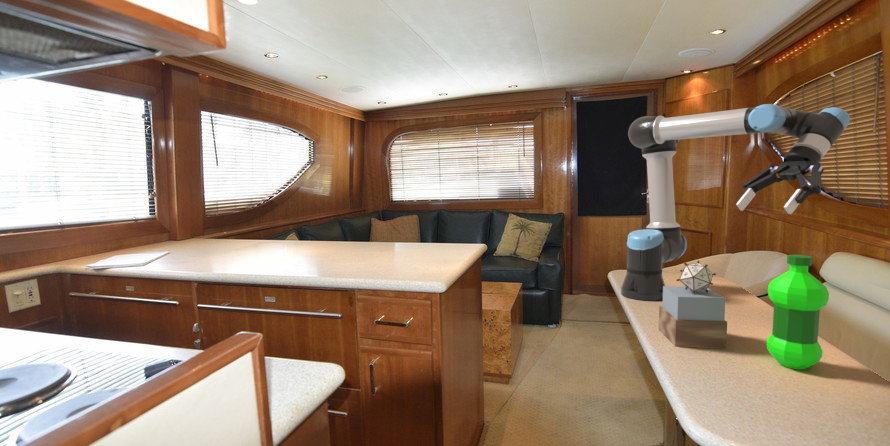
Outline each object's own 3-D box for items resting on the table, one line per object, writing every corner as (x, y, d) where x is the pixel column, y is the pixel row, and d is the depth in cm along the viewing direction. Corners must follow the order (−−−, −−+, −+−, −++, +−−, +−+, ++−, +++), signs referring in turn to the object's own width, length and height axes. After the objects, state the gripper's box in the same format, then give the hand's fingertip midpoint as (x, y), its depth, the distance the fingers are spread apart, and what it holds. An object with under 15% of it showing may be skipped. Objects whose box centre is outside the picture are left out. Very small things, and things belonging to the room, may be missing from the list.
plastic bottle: (829, 366, 97) (837, 256, 94) (810, 379, 91) (819, 262, 88) (776, 352, 105) (782, 250, 102) (756, 362, 99) (762, 255, 97)
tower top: (662, 307, 120) (663, 286, 120) (705, 308, 119) (705, 286, 118) (677, 319, 109) (678, 296, 109) (724, 321, 108) (725, 297, 107)
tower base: (658, 330, 122) (659, 306, 121) (704, 331, 120) (705, 307, 119) (675, 347, 110) (676, 320, 109) (726, 348, 108) (727, 321, 107)
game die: (703, 307, 112) (727, 282, 106) (671, 295, 113) (693, 269, 106) (698, 283, 119) (721, 258, 112) (668, 272, 120) (688, 247, 113)
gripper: (864, 161, 111) (817, 222, 108) (768, 164, 135) (728, 214, 132) (851, 140, 109) (803, 201, 106) (756, 147, 133) (715, 198, 130)
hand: (761, 209), depth 119 cm, fingers open, 13 cm apart
